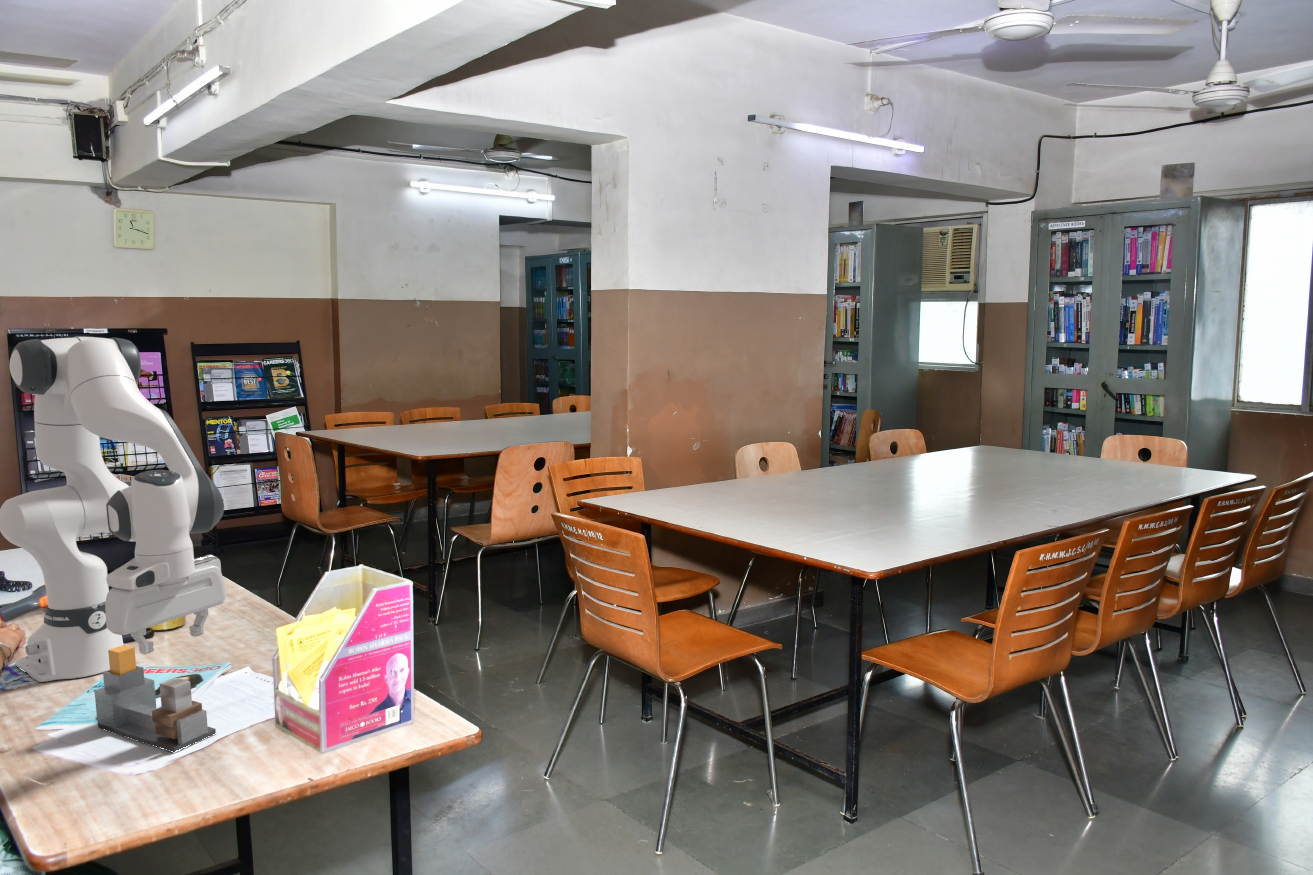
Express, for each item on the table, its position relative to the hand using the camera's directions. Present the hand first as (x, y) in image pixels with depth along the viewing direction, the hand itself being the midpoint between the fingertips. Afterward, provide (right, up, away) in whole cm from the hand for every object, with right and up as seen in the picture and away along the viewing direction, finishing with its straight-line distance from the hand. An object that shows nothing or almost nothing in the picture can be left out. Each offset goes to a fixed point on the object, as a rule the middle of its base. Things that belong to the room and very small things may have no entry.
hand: (172, 643), depth 161 cm
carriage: (0, -16, +2) cm, 16 cm away
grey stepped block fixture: (-6, -17, +6) cm, 19 cm away
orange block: (-13, -7, +8) cm, 17 cm away
